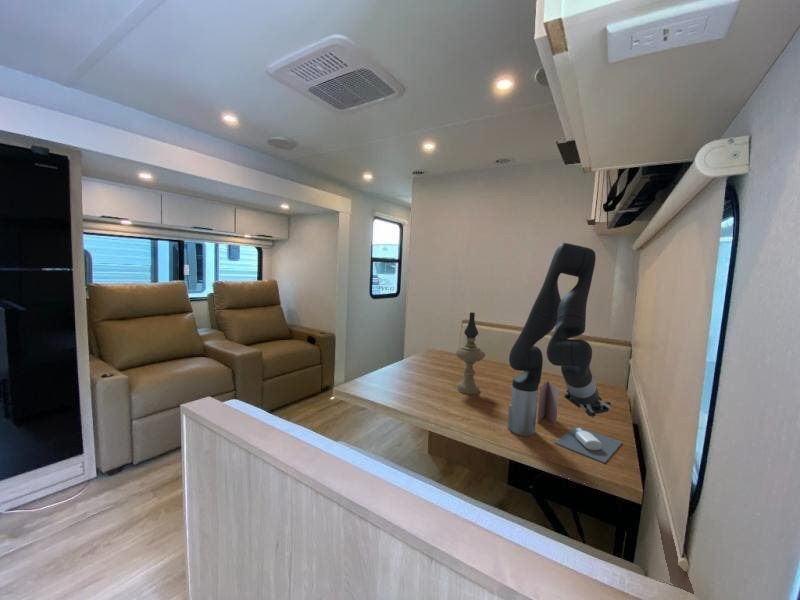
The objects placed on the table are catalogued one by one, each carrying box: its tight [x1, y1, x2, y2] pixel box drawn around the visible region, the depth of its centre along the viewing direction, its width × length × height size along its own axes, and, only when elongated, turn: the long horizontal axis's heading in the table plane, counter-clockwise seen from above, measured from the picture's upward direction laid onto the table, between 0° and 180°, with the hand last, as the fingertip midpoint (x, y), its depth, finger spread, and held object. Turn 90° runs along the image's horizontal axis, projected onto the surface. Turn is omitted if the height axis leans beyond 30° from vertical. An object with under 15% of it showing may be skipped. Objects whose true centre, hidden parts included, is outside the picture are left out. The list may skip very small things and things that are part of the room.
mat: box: [554, 425, 623, 464], centre depth 120 cm, size 16×20×1 cm
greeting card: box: [537, 380, 560, 427], centre depth 137 cm, size 11×7×15 cm, turn 141°
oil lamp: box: [454, 311, 486, 395], centre depth 168 cm, size 15×15×40 cm
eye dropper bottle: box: [576, 427, 602, 450], centre depth 121 cm, size 4×6×12 cm
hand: (591, 413), depth 105 cm, fingers closed
